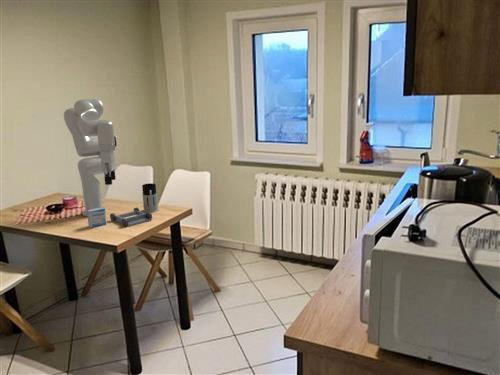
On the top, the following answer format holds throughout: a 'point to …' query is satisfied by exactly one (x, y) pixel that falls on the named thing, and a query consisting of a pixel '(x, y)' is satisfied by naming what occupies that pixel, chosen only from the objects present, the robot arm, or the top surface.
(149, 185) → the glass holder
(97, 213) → the medicine box
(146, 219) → the chassis
